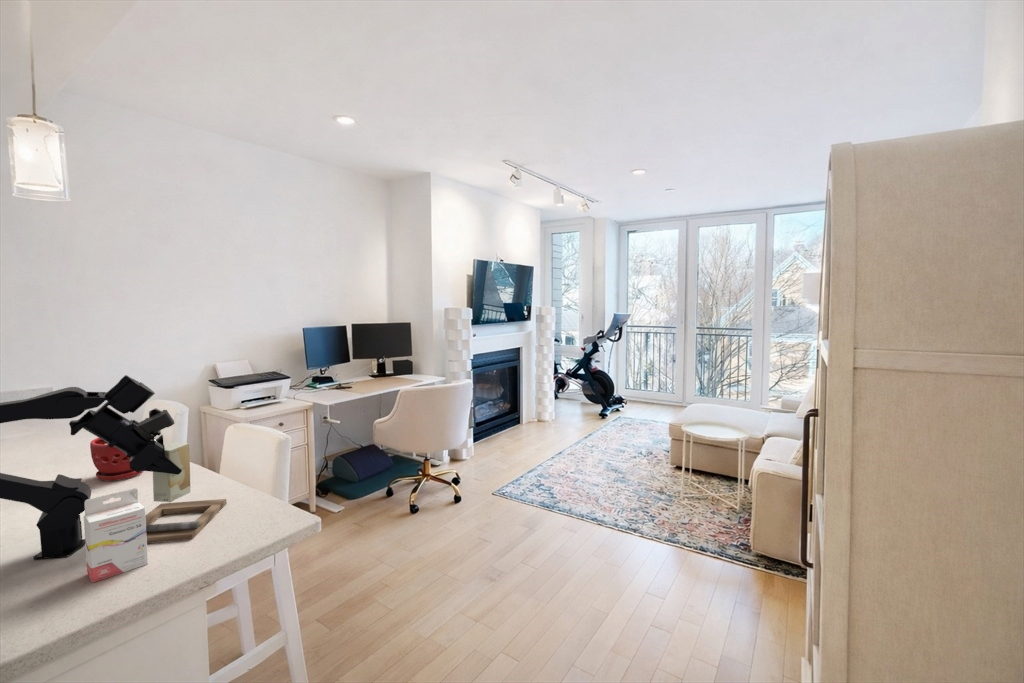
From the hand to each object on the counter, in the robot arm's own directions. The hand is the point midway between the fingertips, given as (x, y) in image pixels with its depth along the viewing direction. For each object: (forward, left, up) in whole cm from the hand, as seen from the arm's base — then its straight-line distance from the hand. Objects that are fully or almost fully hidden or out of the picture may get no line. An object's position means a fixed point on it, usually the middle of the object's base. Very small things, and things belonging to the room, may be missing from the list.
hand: (179, 468), depth 108 cm
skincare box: (-1, +1, -7) cm, 7 cm away
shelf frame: (-1, +1, -13) cm, 13 cm away
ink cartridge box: (-20, +2, -13) cm, 24 cm away
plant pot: (+36, +33, -13) cm, 51 cm away
